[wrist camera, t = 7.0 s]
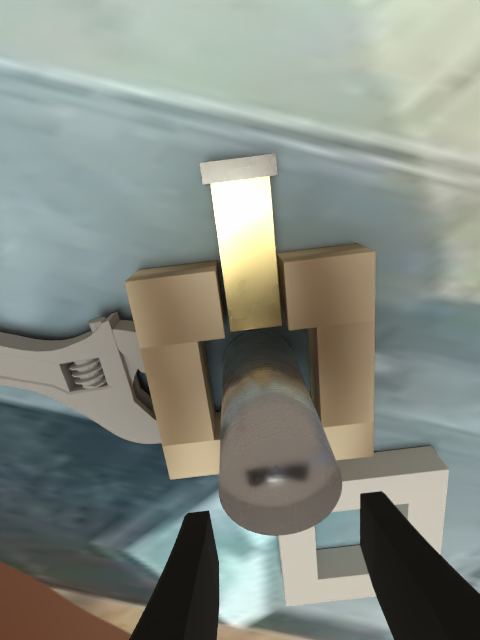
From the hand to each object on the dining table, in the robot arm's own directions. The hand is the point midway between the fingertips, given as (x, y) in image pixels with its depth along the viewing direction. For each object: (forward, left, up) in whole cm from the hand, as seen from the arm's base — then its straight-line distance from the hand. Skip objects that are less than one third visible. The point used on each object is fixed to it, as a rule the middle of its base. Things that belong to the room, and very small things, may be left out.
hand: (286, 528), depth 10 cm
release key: (0, -7, -10) cm, 12 cm away
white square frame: (-5, +12, -10) cm, 17 cm away
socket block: (0, -1, -10) cm, 10 cm away
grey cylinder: (0, 0, -10) cm, 10 cm away
